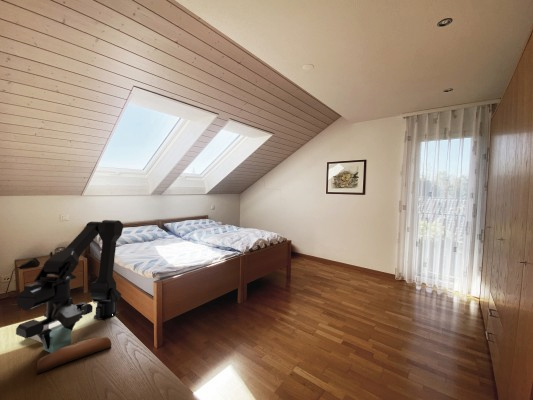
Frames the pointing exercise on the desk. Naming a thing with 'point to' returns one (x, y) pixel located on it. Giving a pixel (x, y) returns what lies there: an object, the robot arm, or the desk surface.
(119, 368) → the desk surface
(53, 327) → the large white block
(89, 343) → the sunglasses case
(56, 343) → the teal cube
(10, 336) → the desk surface
